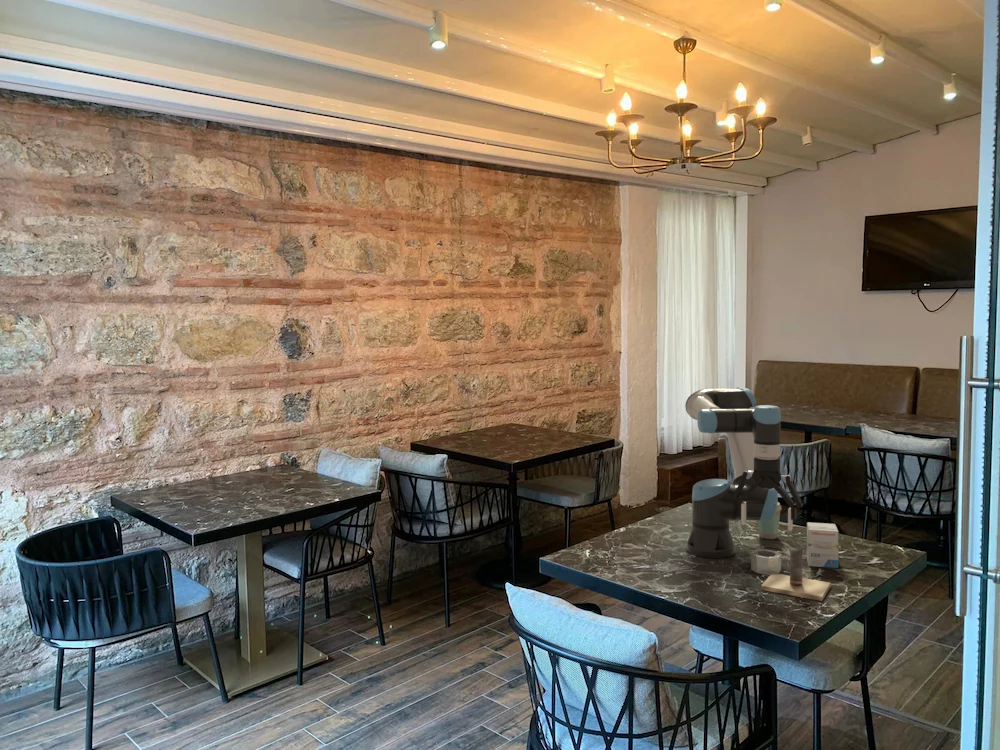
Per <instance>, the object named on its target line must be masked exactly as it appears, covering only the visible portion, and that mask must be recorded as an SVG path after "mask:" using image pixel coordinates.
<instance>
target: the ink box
mask: <svg viewBox="0 0 1000 750" xmlns="http://www.w3.org/2000/svg"><path fill="white" fill-rule="evenodd" d="M839 532H840V531H839V530H838V527H837V525H836V523H828V522H827V523H824V522H809V521H808V522H806V560H807V565H808V567H817V568H830V569H831V568H832V569H839Z"/></svg>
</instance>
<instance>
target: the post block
mask: <svg viewBox="0 0 1000 750" xmlns="http://www.w3.org/2000/svg"><path fill="white" fill-rule="evenodd" d="M789 552H790V554H789V555H790V556H789V558H790V559H789V575H787V574H781V573H779V574H777V573H772V574H771V575H768V576H767V578H766V579H765V580H764V582H763V583H762V584H761V588H760V589H761V591H765V592H770V593H771V592H772V593H778V594H781V595H782V594H783V595H788V596H792V597H799V598H804V599H810V600H813V601H821V602H823V600H824V599H825V598H826V595H827V594H828V593H829V590H830V589H831V586H832V585H831V582H828V581H821V580H816V579H810V578H805V577H803V554H804V553H803V549H802V548H799V547H791V548H790V550H789Z"/></svg>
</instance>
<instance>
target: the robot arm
mask: <svg viewBox="0 0 1000 750" xmlns="http://www.w3.org/2000/svg"><path fill="white" fill-rule="evenodd" d="M684 407H685V411H686V413H687V415H688V416H689V417H690V418H691V419H692V420H695V421H697V429H698V431H699V432H700V433H703V434H704V433H705V434H719V433H720V434H724V433H725V434H726V437H727V441H728V447H729V452H730V457H731V464H732V467H733V473H734V479H733V480H732V482H731V483H730V480H728V479H725V478H709V479H702V480H699V481H697V482H696V483H695V484H694V485H693V486H692V492H691V493H692V495H691V500H692V501H691V503H692V508H691V509H692V512H691V514H692V520H691V521H692V525H691V526H692V527H691V530H690V533H689V536H688V538H687V542H686V550H687V552H688V553H690V555H694V556H697V557H701V558H708V559H709V558H710V559H722V558H724V559H725V558H728V557H731V556H733V555H734V554H735V553H736V548H735V547H736V545H735V543H734V539H733V536H732V533H731V530H730V521H741V522H740V523H741V524H740V525H742V526H744V525H746V524H747V521H758V520H759V521H761V520H771V519H773V518H774V516H775V514H776V509H777V502H778V494H779V496H780V497H781V498H782V499H783V500H784V502H785V503H786V504H787V506H788V507H789V508H787V531H788V532H792V530H793V529H794V527H793V525H794V524H793V522H794V521H795V520H796V519H797V509H801V508H802V507H803V506H804V502H803V500H802V498H801V496H800V495H799V492H798V491H797V489H796V486H795V484H794V482H793V476H792V474H788V475H783V474H782V473H781V459H780V457H781V434H782V433H781V426H782V424H781V422H782V416H781V408H780V407H779V406H777V405H771V404H765V405H764V404H763V405H757V400H756V397H755V395H754V392H753V391H752V390H751V389H749V388H747V387H734V388H733V387H732V388H731V387H730V388H729V387H723V388H722V387H720V388H718V387H714V388H713V387H712V388H711V387H709V388H702V389H699V390H696V391H694V392H693V393H691V394H690V395H689V396H688V397H687V398H686V401H685V406H684ZM781 480H782V481H783V483H785V484H786V486H787V489H788V490H789V493H790V494H791V496H790V494H789V493H788V492H787V491H786V490H785V489H784V488H783V485H782V484H781ZM791 497H792V498H791Z"/></svg>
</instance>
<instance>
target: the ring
mask: <svg viewBox="0 0 1000 750" xmlns="http://www.w3.org/2000/svg"><path fill="white" fill-rule="evenodd" d="M750 555H751V559H750V568H751V570H752V571H753V572H755V573H757V574H759V575H761V574H762V575H767V576H770V575H771V574H772V573H777V574H781V573H780V572H781V571H782V553H781V552H778V551H776V550H771V549H766V548H764V549H763V548H762V549H754V550H753V551H752V552H751V554H750Z"/></svg>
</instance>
